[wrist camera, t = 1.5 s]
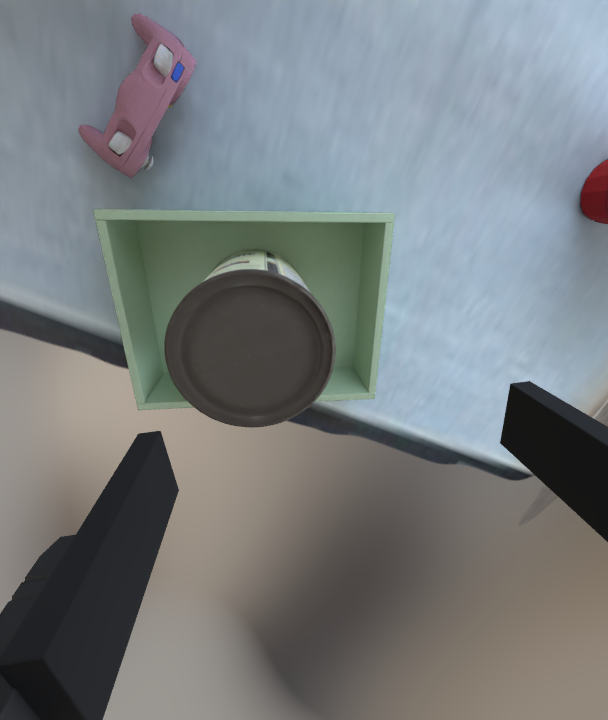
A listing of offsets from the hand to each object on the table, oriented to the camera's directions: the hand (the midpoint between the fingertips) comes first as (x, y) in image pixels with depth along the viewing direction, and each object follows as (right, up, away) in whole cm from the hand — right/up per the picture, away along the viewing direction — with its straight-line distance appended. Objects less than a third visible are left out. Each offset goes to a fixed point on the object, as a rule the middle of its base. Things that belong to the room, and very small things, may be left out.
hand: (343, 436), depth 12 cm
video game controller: (-14, +23, +14) cm, 30 cm away
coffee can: (-6, +9, +20) cm, 23 cm away
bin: (-6, +9, +21) cm, 23 cm away
